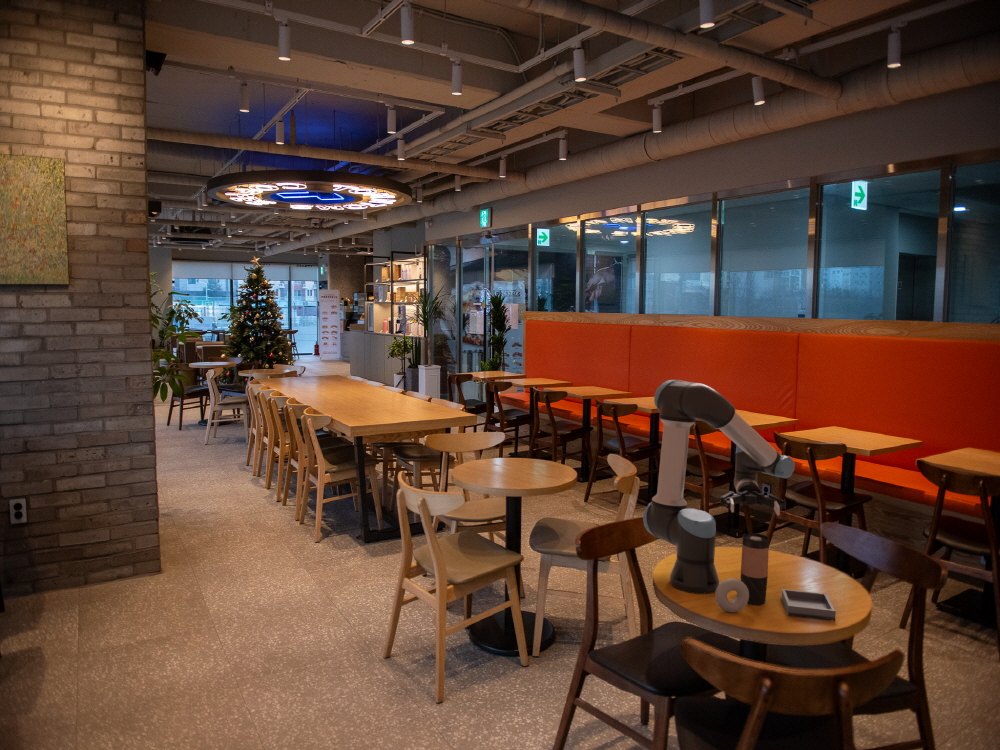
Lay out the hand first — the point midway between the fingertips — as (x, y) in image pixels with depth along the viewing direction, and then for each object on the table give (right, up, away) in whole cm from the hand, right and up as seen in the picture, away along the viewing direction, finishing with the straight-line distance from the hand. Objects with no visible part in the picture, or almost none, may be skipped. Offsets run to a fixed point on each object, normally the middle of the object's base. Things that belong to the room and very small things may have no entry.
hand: (755, 509), depth 216 cm
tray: (+11, -27, -13) cm, 32 cm away
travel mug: (-4, -26, -7) cm, 28 cm away
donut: (-13, -27, -15) cm, 34 cm away
